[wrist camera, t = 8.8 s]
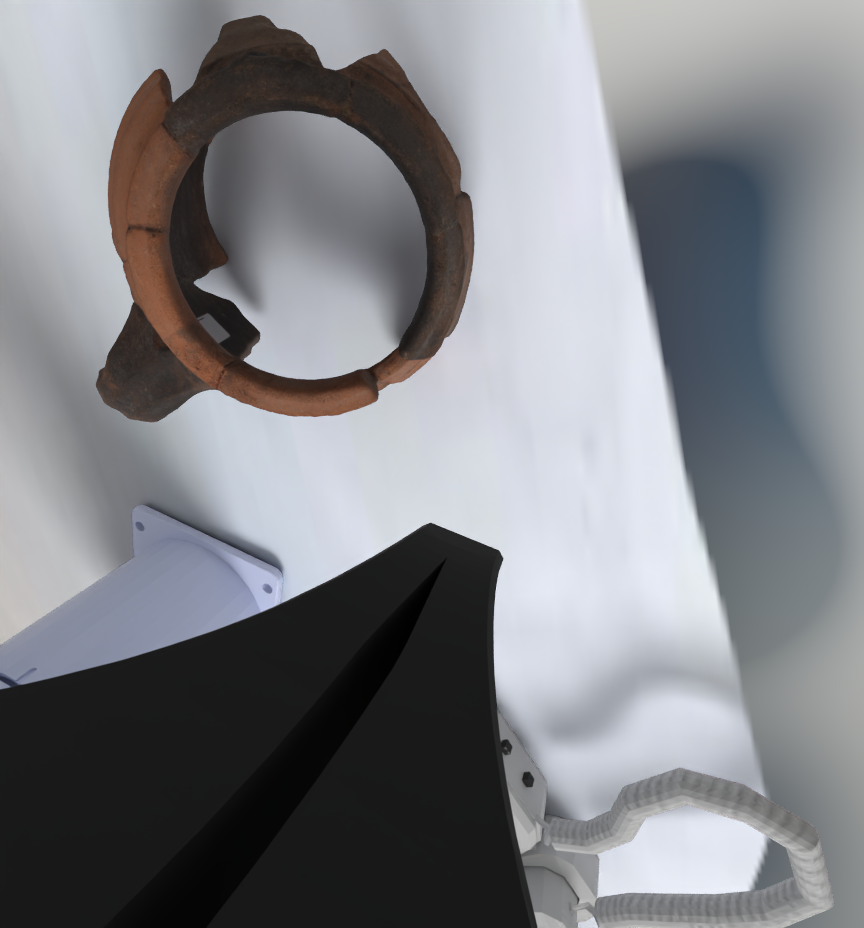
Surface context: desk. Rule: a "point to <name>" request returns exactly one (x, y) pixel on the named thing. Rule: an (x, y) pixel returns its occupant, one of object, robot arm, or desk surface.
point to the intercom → (578, 842)
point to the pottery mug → (198, 251)
